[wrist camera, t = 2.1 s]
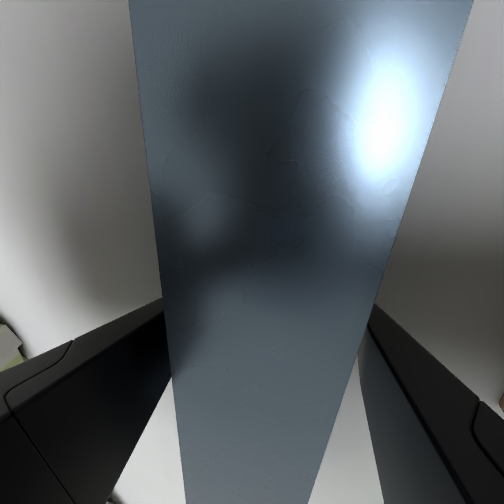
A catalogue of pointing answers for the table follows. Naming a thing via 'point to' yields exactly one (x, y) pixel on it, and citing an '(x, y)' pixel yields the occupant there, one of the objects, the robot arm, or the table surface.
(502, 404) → the peg rack
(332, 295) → the steel bar
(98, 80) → the table surface
